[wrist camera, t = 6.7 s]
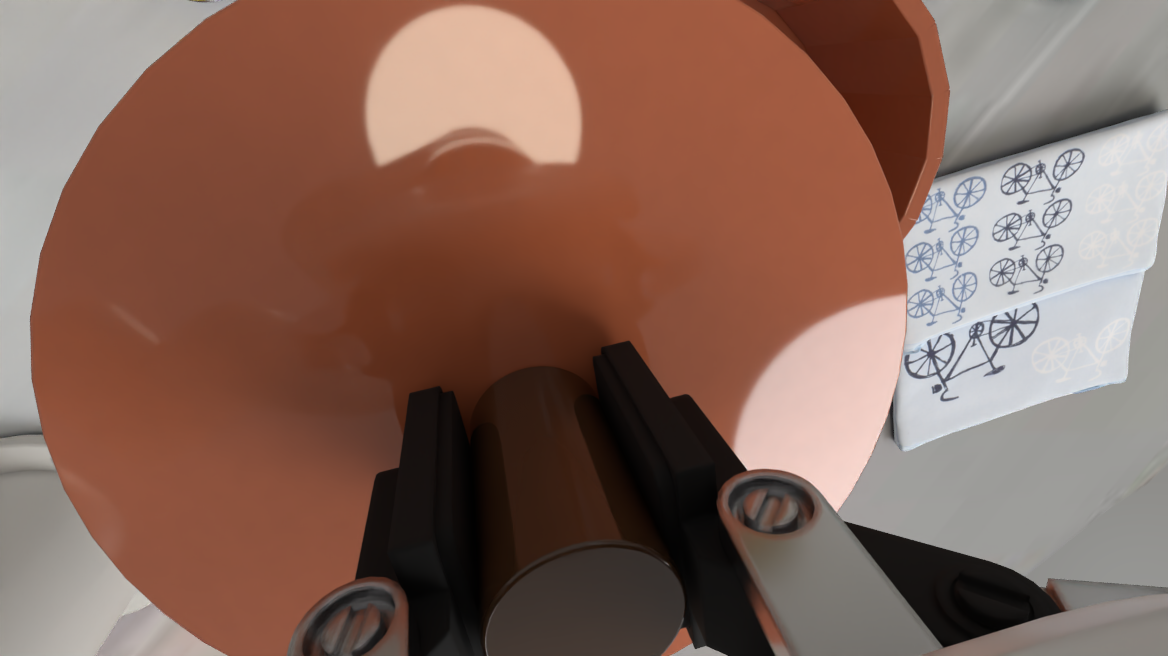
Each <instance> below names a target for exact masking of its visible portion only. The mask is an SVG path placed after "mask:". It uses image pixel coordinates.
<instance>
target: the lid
mask: <svg viewBox="0 0 1168 656" xmlns="http://www.w3.org/2000/svg"><path fill="white" fill-rule="evenodd" d="M907 297H908V282H907V272H906V263H905V253H904V244H903V237H902V233H901V229H900V225H899V221H898V217H897V213H896V209H895V205H894V201H893V197H892V193H891V190H890V188H889V185H888V183H887V180H886V178H885V175H884V173H883V170H882V168H881V166H880V163H879V161H878V158H877V156H876V153H875V151H874V149H873V146H872V144H871V142H870V141H869V139H868V137H867V136H866V134H865V132H864V131H863V129H862V127H861V126H860V124H859V122H858V121H857V119H856V117H855V116H854V114H853V112H852V111H851V109H850V107H849V106H848V104H847V102H846V101H845V99H844V98H843V97H842V95H841V94H840V93H839V92H838V91H837V89H836V88H835V87H834V86H833V85H832V83H831V82H830V81H829V80H828V79H827V77H826V76H825V75H824V74H823V72H822V71H821V70H820V69H819V68H818V66H817V65H816V64H815V63H814V62H813V60H812V59H811V58H810V57H809V56H808V55H807V54H806V53H805V52H804V51H803V50H802V49H801V48H800V47H798V46H797V45H796V44H795V43H794V42H793V41H792V40H791V39H789V38H788V37H787V36H786V35H785V34H784V33H783V32H781V31H780V30H779V29H778V28H777V27H776V26H775V25H773V24H772V23H771V22H770V21H769V20H768V19H767V18H766V17H764V16H763V15H762V14H761V13H759V12H757V11H756V10H754V9H753V8H751V7H750V6H748V5H746V4H745V3H743V2H742V1H740V0H236V1H234V2H233V3H231V4H229V5H228V6H226V7H224V8H223V9H221V10H219V11H218V12H216V13H214V14H213V15H211V16H209V17H208V18H206V19H205V20H203V21H202V22H201V23H200V24H199V25H197V26H196V27H195V28H194V29H193V30H192V31H190V32H189V33H188V34H187V35H186V36H184V37H183V38H182V39H181V40H180V41H179V42H177V43H176V44H175V45H174V46H173V47H172V48H170V49H169V50H168V51H167V52H166V53H164V54H163V55H162V56H161V57H160V58H159V59H157V60H156V61H155V62H154V63H153V64H151V65H150V66H149V67H148V68H147V69H146V70H145V71H144V72H143V74H142V75H141V76H140V77H139V78H138V80H137V81H136V82H135V83H134V84H133V85H132V87H131V88H130V89H129V90H128V91H127V93H126V94H125V95H124V96H123V97H122V99H121V100H120V101H119V102H118V103H117V105H116V106H115V107H114V108H113V109H112V111H111V112H110V113H109V114H108V115H107V117H106V118H105V119H104V120H103V121H102V123H101V124H100V125H99V126H98V128H97V130H96V132H95V133H94V135H93V137H92V139H91V140H90V142H89V144H88V146H87V147H86V149H85V151H84V153H83V154H82V156H81V158H80V160H79V161H78V163H77V165H76V167H75V168H74V170H73V172H72V174H71V175H70V177H69V179H68V181H67V182H66V184H65V186H64V188H63V190H62V193H61V196H60V199H59V202H58V205H57V207H56V210H55V213H54V216H53V219H52V222H51V224H50V227H49V230H48V233H47V236H46V239H45V241H44V244H43V247H42V250H41V253H40V258H39V265H38V271H37V277H36V284H35V290H34V296H33V303H32V309H31V315H30V332H31V373H32V383H33V388H34V393H35V398H36V403H37V408H38V413H39V418H40V423H41V427H42V432H43V437H44V440H45V442H46V445H47V447H48V450H49V453H50V455H51V458H52V460H53V463H54V465H55V468H56V471H57V473H58V476H59V478H60V481H61V483H62V486H63V489H64V491H65V492H66V494H67V496H68V498H69V499H70V501H71V503H72V504H73V506H74V508H75V509H76V511H77V513H78V515H79V516H80V518H81V520H82V521H83V523H84V525H85V526H86V528H87V530H88V532H89V533H90V535H91V537H92V538H93V539H94V540H95V542H96V543H97V544H98V545H99V547H100V548H101V549H102V550H103V552H104V553H105V554H106V555H107V556H108V558H109V559H110V560H111V561H112V563H113V564H114V565H115V566H116V568H117V569H118V570H119V571H120V572H121V574H122V575H123V576H124V577H125V579H127V580H128V581H129V582H130V583H131V584H132V585H133V586H134V587H135V588H136V589H137V590H138V591H139V592H141V593H142V594H143V595H144V596H145V597H146V598H147V599H148V600H149V601H150V602H151V603H152V604H153V605H155V606H156V607H157V608H158V609H159V610H160V611H161V612H162V613H163V614H165V615H166V616H167V617H169V618H170V619H172V620H173V621H174V622H176V623H177V624H179V625H180V626H181V627H183V628H184V629H186V630H187V631H188V632H190V633H191V634H193V635H194V636H195V637H197V638H198V639H200V640H201V641H203V642H204V643H206V644H208V645H209V646H211V647H213V648H215V649H217V650H219V651H220V652H222V653H224V654H226V655H228V656H287V651H288V647H289V643H290V641H291V638H292V635H293V633H294V630H295V628H296V627H297V625H298V624H299V622H300V621H301V619H302V618H303V617H304V615H305V614H306V612H307V611H308V610H309V609H310V608H312V607H313V606H314V605H315V604H316V603H317V602H318V601H319V600H320V599H321V598H322V597H324V596H325V595H327V594H328V593H330V592H331V591H333V590H334V589H336V588H337V587H340V586H342V585H344V584H346V583H349V582H351V581H353V580H355V576H356V571H357V566H358V561H359V556H360V551H361V546H362V541H363V536H364V530H365V525H366V520H367V515H368V510H369V505H370V500H371V495H372V490H373V485H374V480H375V477H376V474H378V473H379V472H382V471H386V470H390V469H394V468H398V467H399V463H400V456H401V449H402V442H403V434H404V427H405V420H406V413H407V405H408V398H409V394H410V393H412V392H416V391H420V390H424V389H429V388H433V387H437V386H440V387H441V388H442V391H443V393H445V392H449V391H453V392H454V394H455V397H456V400H457V404H458V407H459V410H460V414H461V417H462V420H463V424H464V427H465V431H466V434H467V437H468V441H469V444H470V448H471V468H472V487H473V507H474V526H475V546H476V565H477V585H478V604H479V624H480V643H481V648H482V652H483V655H484V656H670V655H672V654H674V653H676V652H678V651H679V650H681V649H683V648H685V647H686V646H688V645H690V644H692V641H691V638H690V636H689V634H688V631H687V629H686V628H683V629H680V628H681V626H682V624H683V621H684V617H685V614H686V607H687V591H686V586H685V582H684V580H683V577H682V575H681V573H680V570H679V568H678V566H677V564H676V562H675V560H674V558H673V555H672V553H671V551H670V549H669V547H668V545H667V544H666V542H665V540H664V538H663V536H662V533H661V531H660V529H659V527H658V525H657V523H656V521H655V518H654V516H653V514H652V512H651V510H650V508H649V506H648V503H647V501H646V499H645V497H644V495H643V493H642V491H641V489H640V486H639V484H638V482H637V480H636V478H635V476H634V474H633V471H632V469H631V467H630V465H629V463H628V461H627V459H626V456H625V454H624V452H623V450H622V448H621V446H620V444H619V441H618V439H617V437H616V435H615V433H614V431H613V429H612V426H611V424H610V422H609V420H608V418H607V416H606V414H605V411H604V409H603V407H602V405H601V403H600V401H599V396H598V390H597V385H596V379H595V373H594V367H593V356H598V355H601V347H604V346H608V345H612V344H616V343H620V342H625V341H630V342H631V343H632V344H633V346H634V347H635V349H636V350H637V352H638V353H639V355H640V356H641V357H642V359H643V360H644V362H645V363H646V365H647V366H648V367H649V369H650V370H651V372H652V373H653V375H654V376H655V378H656V379H657V380H658V382H659V383H660V385H661V386H662V388H663V389H664V391H665V392H666V393H667V395H668V396H669V398H672V397H676V396H679V395H683V394H689V395H690V396H691V397H692V398H693V400H694V401H695V402H696V404H697V405H698V406H699V407H700V409H701V410H702V411H703V413H704V414H705V415H706V417H707V418H708V419H709V420H710V422H711V423H712V424H713V426H714V427H715V428H716V430H717V431H718V432H719V434H720V435H721V436H722V437H723V439H724V440H725V441H726V443H727V444H728V445H729V447H730V448H731V449H732V450H733V452H734V453H735V454H736V456H737V457H738V458H739V460H740V461H741V462H742V464H743V465H744V466H745V467H746V469H747V470H756V469H776V470H782V471H786V472H789V473H793V474H796V475H798V476H800V477H802V478H803V479H805V480H807V481H809V482H810V483H811V484H812V485H814V486H815V487H816V488H817V489H818V490H819V491H820V492H821V493H822V495H823V496H824V497H825V499H826V500H827V501H828V502H829V504H830V505H831V506H832V507H833V509H834V510H835V511H836V512H838V511H839V509H840V508H841V506H842V505H843V503H844V502H845V500H846V499H847V498H848V496H849V495H850V493H851V492H852V490H853V488H854V486H855V485H856V483H857V481H858V479H859V477H860V475H861V474H862V472H863V470H864V468H865V466H866V464H867V462H868V461H869V459H870V457H871V455H872V453H873V451H874V448H875V446H876V443H877V441H878V438H879V436H880V433H881V431H882V429H883V426H884V424H885V421H886V419H887V416H888V414H889V410H890V406H891V403H892V399H893V396H894V392H895V389H896V385H897V382H898V378H899V375H900V369H901V363H902V356H903V350H904V343H905V337H906V331H907Z"/></svg>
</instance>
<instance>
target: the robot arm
mask: <svg viewBox="0 0 1168 656" xmlns="http://www.w3.org/2000/svg"><path fill="white" fill-rule="evenodd" d="M593 367H594V373H595V379H596V385H597V390H598V396H599V401H600V403H601V405H602V407H603V409H604V411H605V414H606V416H607V418H608V420H609V422H610V424H611V426H612V429H613V431H614V433H615V435H616V437H617V439H618V441H619V444H620V446H621V448H622V450H623V452H624V454H625V456H626V459H627V461H628V463H629V465H630V467H631V469H632V471H633V474H634V476H635V478H636V480H637V482H638V484H639V486H640V489H641V491H642V493H643V495H644V497H645V499H646V501H647V503H648V506H649V508H650V510H651V512H652V514H653V516H654V518H655V521H656V523H657V525H658V527H659V529H660V531H661V533H662V536H663V538H664V540H665V542H666V544H667V545H668V547H669V549H670V551H671V553H672V555H673V558H674V560H675V562H676V564H677V566H678V568H679V570H680V573H681V575H682V577H683V580H684V582H685V586H686V591H687V607H686V614H685V617H684V621H683V624H682V626H681V628H680V629H683V628H686V629H687V631H688V634H689V636H690V638H691V641H692V643H693V645H694V648H695V649H697V648H700V647H703V646H708V647H710V648H712V649H714V650H717V651H719V652H721V653H723V654H726V655H728V656H1168V588H1166V587H1153V586H1140V585H1128V584H1115V583H1102V582H1089V581H1076V580H1064V579H1051V578H1049V579H1048V582H1047V586H1046V588H1043V587H1039V586H1038V585H1036V584H1035V583H1034V582H1033V581H1031V580H1029V579H1027V578H1026V577H1024V576H1022V575H1021V574H1019V573H1017V572H1015V571H1014V570H1012V569H1009V568H1006V567H1004V566H1001V565H998V564H995V563H993V562H990V561H986V560H983V559H979V558H975V557H972V556H968V555H964V554H961V553H957V552H954V551H950V550H946V549H943V548H939V547H935V546H932V545H928V544H925V543H921V542H917V541H914V540H910V539H906V538H903V537H899V536H896V535H892V534H888V533H885V532H881V531H877V530H874V529H870V528H867V527H863V526H859V525H856V524H852V523H849V522H845V521H843V520H842V519H841V517H840V516H839V515H838V514H837V512H836V511H835V510H834V509H833V507H832V506H831V505H830V504H829V502H828V501H827V500H826V499H825V497H824V496H823V495H822V493H821V492H820V491H819V490H818V489H817V488H816V487H815V486H814V485H812V484H811V483H810V482H809V481H807V480H805V479H803V478H802V477H800V476H798V475H796V474H793V473H789V472H786V471H782V470H776V469H756V470H747V469H746V467H745V466H744V465H743V464H742V462H741V461H740V460H739V458H738V457H737V456H736V454H735V453H734V452H733V450H732V449H731V448H730V447H729V445H728V444H727V443H726V441H725V440H724V439H723V437H722V436H721V435H720V434H719V432H718V431H717V430H716V428H715V427H714V426H713V424H712V423H711V422H710V420H709V419H708V418H707V417H706V415H705V414H704V413H703V411H702V410H701V409H700V407H699V406H698V405H697V404H696V402H695V401H694V400H693V398H692V397H691V396H690V395H689V394H683V395H679V396H676V397H672V398H669V396H668V395H667V393H666V392H665V391H664V389H663V388H662V386H661V385H660V383H659V382H658V380H657V379H656V378H655V376H654V375H653V373H652V372H651V370H650V369H649V367H648V366H647V365H646V363H645V362H644V360H643V359H642V357H641V356H640V355H639V353H638V352H637V350H636V349H635V347H634V346H633V344H632V343H631V342H630V341H625V342H620V343H616V344H612V345H608V346H604V347H601V355H598V356H593ZM150 604H152V603H151V602H150V601H149V600H148V599H147V598H146V597H145V596H144V595H143V594H142V593H141V592H139V591H138V590H137V589H136V588H135V587H134V586H133V585H132V584H131V583H130V582H129V581H128V580H127V579H125V577H124V576H123V575H122V574H121V572H120V571H119V570H118V569H117V568H116V566H115V565H114V564H113V563H112V561H111V560H110V559H109V558H108V556H107V555H106V554H105V553H104V552H103V550H102V549H101V548H100V547H99V545H98V544H97V543H96V542H95V540H94V539H93V538H92V537H91V535H90V533H89V532H88V530H87V528H86V526H85V525H84V523H83V521H82V520H81V518H80V516H79V515H78V513H77V511H76V509H75V508H74V506H73V504H72V503H71V501H70V499H69V498H68V496H67V494H66V492H65V491H64V489H63V486H62V483H61V481H60V478H59V476H58V473H57V471H56V468H55V465H54V463H53V460H52V458H51V455H50V453H49V450H48V447H47V445H46V442H45V440H44V437H43V435H20V436H13V437H6V438H0V656H96V654H97V653H98V651H99V650H100V648H101V646H102V645H103V643H104V642H105V640H106V639H107V637H108V635H109V634H110V632H111V631H112V629H113V628H114V626H115V624H116V623H117V621H118V620H119V618H120V617H121V616H124V615H127V614H130V613H133V612H136V611H138V610H140V609H142V608H144V607H146V606H148V605H150ZM287 656H484V655H483V652H482V648H481V643H480V624H479V604H478V585H477V565H476V546H475V526H474V507H473V487H472V468H471V448H470V444H469V441H468V437H467V434H466V431H465V427H464V424H463V420H462V417H461V414H460V410H459V407H458V404H457V400H456V397H455V394H454V392H453V391H449V392H445V393H443V391H442V388H441V387H440V386H437V387H433V388H429V389H424V390H420V391H416V392H412V393H410V394H409V398H408V405H407V413H406V420H405V427H404V434H403V442H402V449H401V456H400V463H399V467H398V468H394V469H390V470H386V471H382V472H379V473H378V474H376V477H375V480H374V485H373V490H372V495H371V500H370V505H369V510H368V515H367V520H366V525H365V530H364V536H363V541H362V546H361V551H360V556H359V561H358V566H357V571H356V576H355V580H353V581H351V582H349V583H346V584H344V585H342V586H340V587H337V588H336V589H334V590H333V591H331V592H330V593H328V594H327V595H325V596H324V597H322V598H321V599H320V600H319V601H318V602H317V603H316V604H315V605H314V606H313V607H312V608H310V609H309V610H308V611H307V612H306V614H305V615H304V617H303V618H302V619H301V621H300V622H299V624H298V625H297V627H296V628H295V630H294V633H293V635H292V638H291V641H290V643H289V647H288V651H287Z"/></svg>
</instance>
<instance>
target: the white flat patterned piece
mask: <svg viewBox="0 0 1168 656" xmlns="http://www.w3.org/2000/svg"><path fill="white" fill-rule="evenodd" d="M1167 181H1168V109H1166V110H1163V111H1160V112H1156V113H1153V114H1150V115H1146V116H1142V117H1138V118H1135V119H1131V120H1128V121H1125V122H1122V123H1119V124H1116V125H1112V126H1109V127H1105V128H1102V129H1098V130H1095V131H1092V132H1089V133H1085V134H1082V135H1078V136H1075V137H1072V138H1068V139H1065V140H1062V141H1058V142H1055V143H1051V144H1047V145H1044V146H1041V147H1038V148H1035V149H1032V150H1028V151H1025V152H1021V153H1018V154H1014V155H1010V156H1007V157H1003V158H1000V159H996V160H993V161H990V162H986V163H983V164H979V165H976V166H973V167H970V168H966V169H964V170H961V171H958V172H955V173H952V174H948V175H945V176H941V177H938V178H935V179H934V181H933V183H932V186H931V188H930V191H929V193H928V196H927V198H926V201H925V203H924V206H923V208H922V211H921V213H920V216H919V218H918V220H917V221H916V224H915V225H914V226H913V228H912V229H911V230H910V232H909V233H908V234H907V236H906V237H905V238H904V240H903V244H904V253H905V263H906V272H907V282H908V297H907V331H906V337H905V343H904V350H903V356H902V363H901V369H900V375H899V378H898V382H897V385H896V389H895V392H894V396H893V422H894V439H895V443H896V444H897V445H898V447H899V449H900V450H901V451H909V450H912V449H914V448H916V447H918V446H920V445H922V444H924V443H927V442H929V441H932V440H934V439H937V438H939V437H942V436H945V435H948V434H950V433H954V432H957V431H960V430H963V429H966V428H969V427H972V426H975V425H978V424H981V423H984V422H987V421H990V420H992V419H995V418H998V417H1001V416H1004V415H1007V414H1010V413H1013V412H1016V411H1019V410H1022V409H1025V408H1027V407H1030V406H1033V405H1036V404H1039V403H1042V402H1045V401H1048V400H1051V399H1054V398H1058V397H1061V396H1065V395H1068V394H1071V393H1073V394H1078V393H1082V392H1086V391H1090V390H1094V389H1097V388H1100V387H1103V386H1106V385H1109V384H1114V383H1123V382H1125V381H1126V377H1127V375H1128V356H1129V348H1130V336H1131V330H1132V326H1133V322H1134V318H1135V313H1136V309H1137V305H1138V300H1139V296H1140V290H1141V286H1142V282H1143V277H1144V272H1145V270H1147V269H1149V268H1150V267H1151V266H1152V265H1153V264H1154V261H1155V257H1156V252H1157V238H1158V232H1159V228H1160V222H1161V217H1162V213H1163V209H1164V204H1165V198H1166V190H1167Z"/></svg>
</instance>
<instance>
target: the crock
mask: <svg viewBox="0 0 1168 656" xmlns="http://www.w3.org/2000/svg"><path fill="white" fill-rule="evenodd" d="M740 1H742V2H743V3H745V4H746V5H748V6H750V7H751V8H753V9H754V10H756V11H757V12H759V13H761V14H762V15H763V16H764V17H766V18H767V19H768V20H769V21H770V22H771V23H772V24H773V25H775V26H776V27H777V28H778V29H779V30H780V31H781V32H783V33H784V34H785V35H786V36H787V37H788V38H789V39H791V40H792V41H793V42H794V43H795V44H796V45H797V46H798V47H800V48H801V49H802V50H803V51H804V52H805V53H806V54H807V55H808V56H809V57H810V58H811V59H812V60H813V62H814V63H815V64H816V65H817V66H818V68H819V69H820V70H821V71H822V72H823V74H824V75H825V76H826V77H827V79H828V80H829V81H830V82H831V83H832V85H833V86H834V87H835V88H836V89H837V91H838V92H839V93H840V94H841V95H842V97H843V98H844V99H845V101H846V102H847V104H848V106H849V107H850V109H851V111H852V112H853V114H854V116H855V117H856V119H857V121H858V122H859V124H860V126H861V127H862V129H863V131H864V132H865V134H866V136H867V137H868V139H869V141H870V142H871V144H872V146H873V149H874V151H875V153H876V156H877V158H878V161H879V163H880V166H881V168H882V170H883V173H884V175H885V178H886V180H887V183H888V185H889V188H890V190H891V193H892V197H893V201H894V205H895V209H896V213H897V217H898V221H899V225H900V229H901V233H902V237H903V240H904V238H905V237H906V236H907V234H908V233H909V232H910V230H911V229H912V228H913V226H914V225H915V224H916V221H917V220H918V218H919V216H920V213H921V211H922V208H923V206H924V203H925V201H926V198H927V196H928V193H929V191H930V188H931V186H932V183H933V181H934V178H935V176H936V173H937V171H938V168H939V166H940V164H941V161H942V159H941V158H943V152H944V143H945V134H946V124H947V115H948V106H949V97H950V90H949V88H950V87H949V82H948V78H947V73H946V68H945V64H944V59H943V54H942V49H941V45H940V40H939V35H938V31H937V26H936V23H935V20H934V18H933V17H932V15H931V14H930V13H929V11H928V10H927V8H926V7H925V5H924V4H923V2H922V1H921V0H740Z"/></svg>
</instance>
